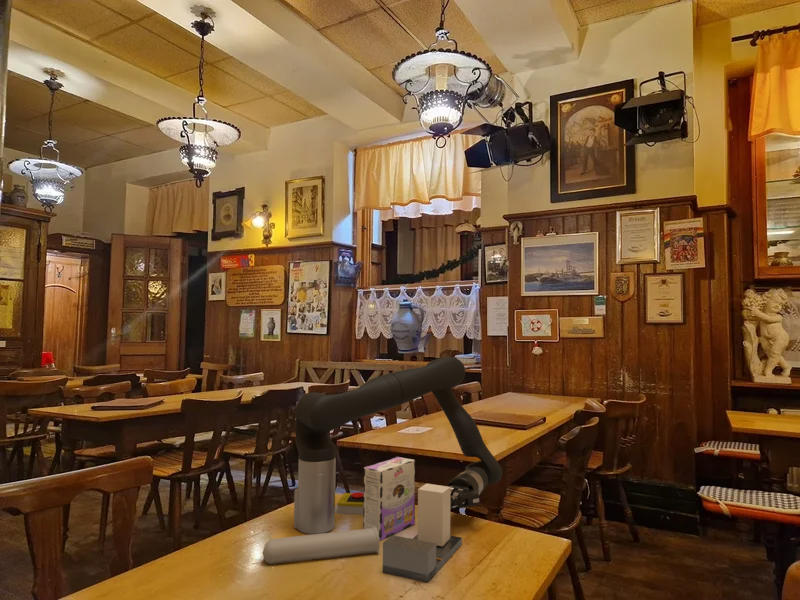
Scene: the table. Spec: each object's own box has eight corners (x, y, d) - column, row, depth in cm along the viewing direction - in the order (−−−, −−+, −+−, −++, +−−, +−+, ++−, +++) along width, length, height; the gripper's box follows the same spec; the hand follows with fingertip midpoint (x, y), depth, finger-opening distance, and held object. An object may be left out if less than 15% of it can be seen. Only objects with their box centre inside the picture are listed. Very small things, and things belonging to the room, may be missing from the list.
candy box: (397, 519, 142) (398, 455, 143) (415, 524, 138) (416, 459, 139) (361, 535, 131) (362, 466, 132) (380, 541, 128) (381, 470, 128)
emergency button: (338, 488, 156) (390, 490, 154) (338, 503, 155) (390, 506, 154) (331, 498, 146) (386, 501, 145) (330, 515, 146) (386, 517, 145)
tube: (263, 551, 113) (380, 538, 119) (262, 533, 117) (375, 522, 124) (262, 572, 114) (378, 558, 121) (261, 554, 119) (373, 541, 126)
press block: (417, 541, 123) (418, 489, 123) (426, 534, 127) (426, 483, 128) (442, 546, 120) (442, 492, 121) (450, 538, 125) (450, 486, 125)
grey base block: (382, 572, 112) (382, 542, 112) (422, 536, 131) (422, 511, 131) (427, 582, 107) (428, 551, 108) (461, 544, 126) (462, 517, 127)
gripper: (442, 470, 148) (418, 486, 133) (490, 476, 143) (470, 494, 127) (442, 498, 148) (417, 518, 132) (489, 505, 143) (469, 527, 127)
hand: (443, 506), depth 130 cm, fingers closed
